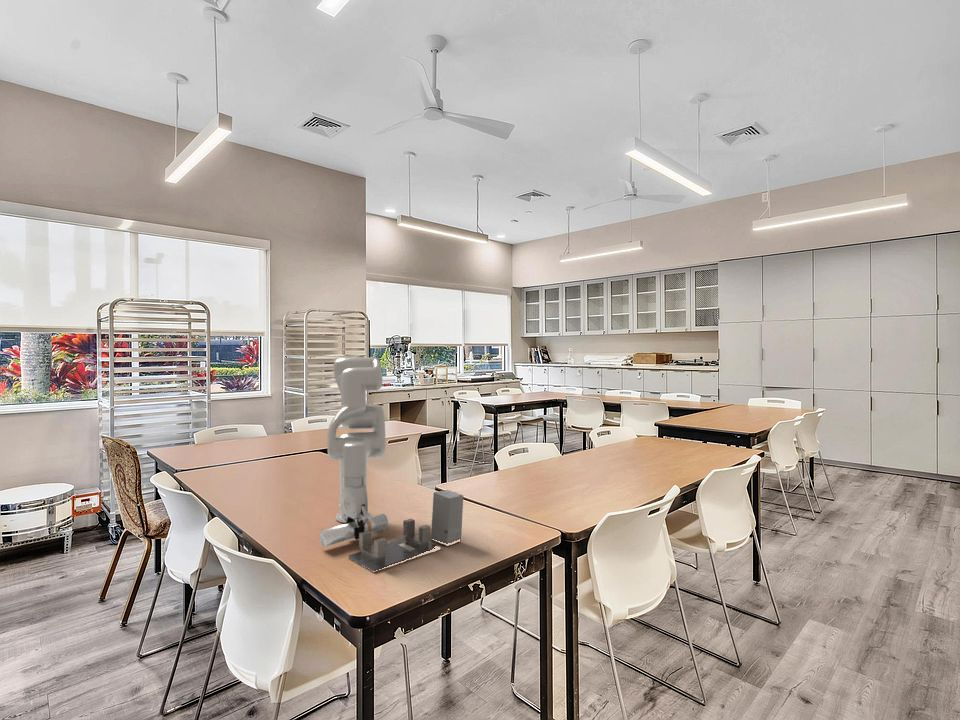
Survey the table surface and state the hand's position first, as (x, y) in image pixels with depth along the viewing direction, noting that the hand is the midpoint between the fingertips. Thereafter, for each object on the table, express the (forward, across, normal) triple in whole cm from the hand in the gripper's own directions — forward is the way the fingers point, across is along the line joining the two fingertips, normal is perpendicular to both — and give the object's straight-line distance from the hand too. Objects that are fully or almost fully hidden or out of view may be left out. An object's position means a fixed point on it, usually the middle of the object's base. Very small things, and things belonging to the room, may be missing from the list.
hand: (355, 535), depth 165 cm
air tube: (-2, 0, 0) cm, 2 cm away
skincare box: (+2, +21, +22) cm, 30 cm away
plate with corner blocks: (+2, +18, +4) cm, 18 cm away
